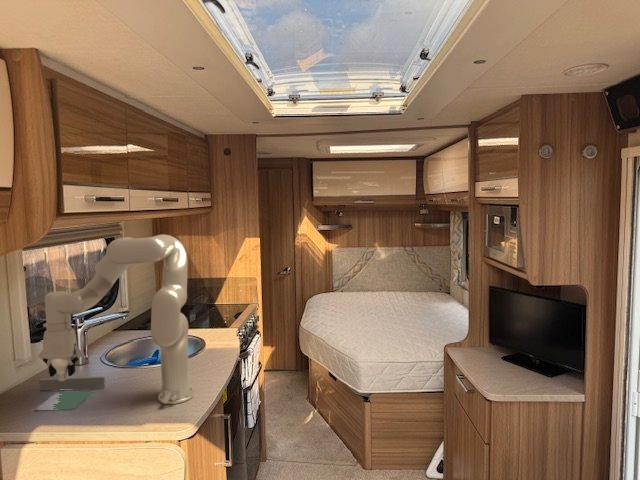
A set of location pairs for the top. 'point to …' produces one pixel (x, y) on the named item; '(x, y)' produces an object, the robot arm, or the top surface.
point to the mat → (71, 400)
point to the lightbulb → (60, 368)
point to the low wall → (73, 383)
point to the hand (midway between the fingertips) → (62, 374)
